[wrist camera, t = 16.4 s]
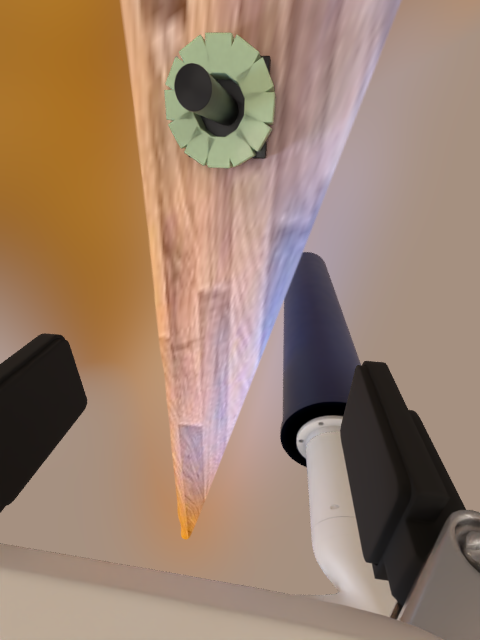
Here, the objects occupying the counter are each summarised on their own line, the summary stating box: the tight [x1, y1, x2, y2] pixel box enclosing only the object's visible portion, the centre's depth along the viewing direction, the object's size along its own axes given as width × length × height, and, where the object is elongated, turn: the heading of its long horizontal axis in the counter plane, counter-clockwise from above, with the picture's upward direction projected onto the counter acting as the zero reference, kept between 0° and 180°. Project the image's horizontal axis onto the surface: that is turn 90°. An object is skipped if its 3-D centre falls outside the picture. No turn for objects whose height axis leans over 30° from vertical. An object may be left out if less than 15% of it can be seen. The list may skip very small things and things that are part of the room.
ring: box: [165, 33, 276, 168], centre depth 28 cm, size 10×10×3 cm
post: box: [174, 56, 271, 158], centre depth 24 cm, size 8×8×13 cm
